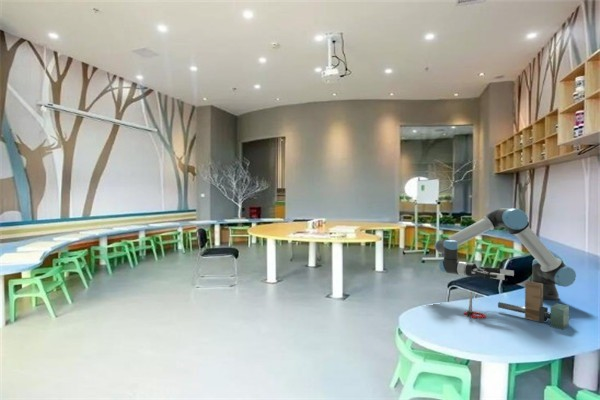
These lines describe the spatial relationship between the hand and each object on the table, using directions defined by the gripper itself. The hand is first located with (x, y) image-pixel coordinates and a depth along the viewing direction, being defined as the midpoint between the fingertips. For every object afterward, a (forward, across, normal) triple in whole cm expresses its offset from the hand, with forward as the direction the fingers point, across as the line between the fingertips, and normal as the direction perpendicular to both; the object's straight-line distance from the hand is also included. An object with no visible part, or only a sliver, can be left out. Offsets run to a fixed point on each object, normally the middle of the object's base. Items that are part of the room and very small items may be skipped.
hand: (509, 275), depth 180 cm
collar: (+15, 0, -20) cm, 25 cm away
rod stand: (+10, 0, -20) cm, 23 cm away
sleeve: (+11, 0, -20) cm, 23 cm away
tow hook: (-10, +17, -20) cm, 28 cm away
